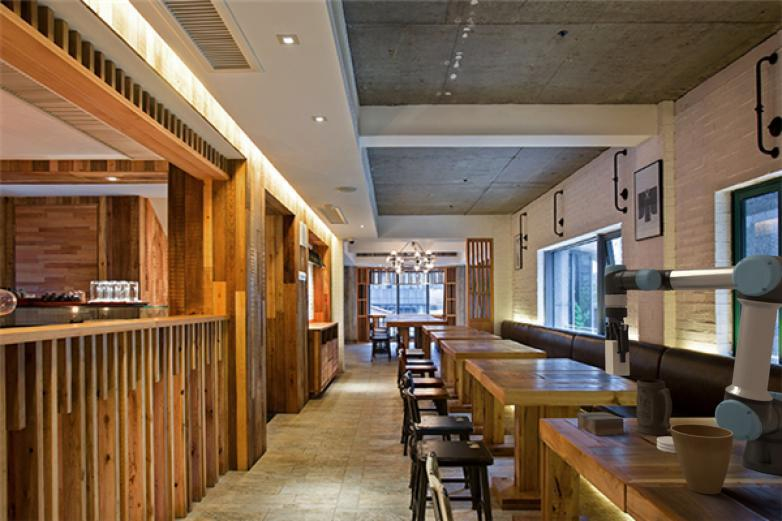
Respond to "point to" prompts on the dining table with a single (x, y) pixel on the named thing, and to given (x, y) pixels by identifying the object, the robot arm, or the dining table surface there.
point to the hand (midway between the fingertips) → (617, 370)
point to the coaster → (666, 444)
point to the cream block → (614, 359)
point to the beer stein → (653, 407)
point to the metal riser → (600, 423)
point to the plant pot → (703, 455)
